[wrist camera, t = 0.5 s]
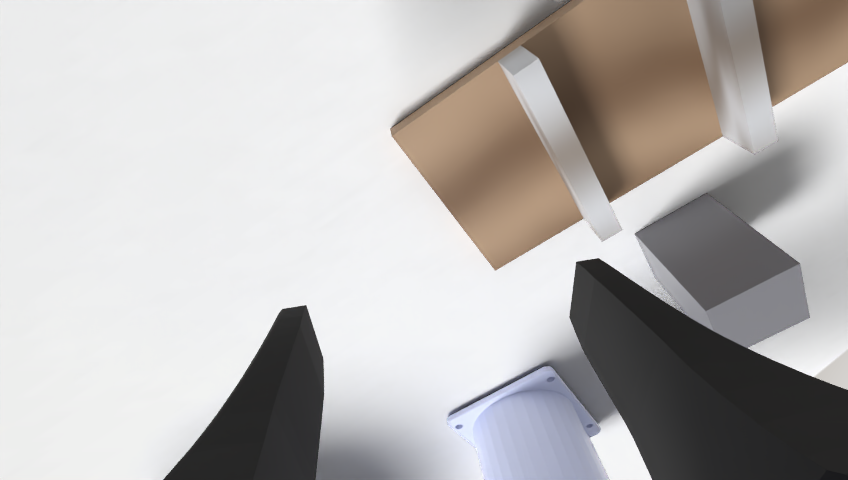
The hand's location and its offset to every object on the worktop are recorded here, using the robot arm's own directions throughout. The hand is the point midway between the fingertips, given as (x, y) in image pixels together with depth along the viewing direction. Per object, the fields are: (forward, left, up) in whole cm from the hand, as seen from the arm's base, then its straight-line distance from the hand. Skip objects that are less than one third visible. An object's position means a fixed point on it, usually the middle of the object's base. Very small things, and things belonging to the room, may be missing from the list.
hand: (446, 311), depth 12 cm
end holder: (-3, -9, -10) cm, 14 cm away
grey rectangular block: (-13, -9, -10) cm, 19 cm away
